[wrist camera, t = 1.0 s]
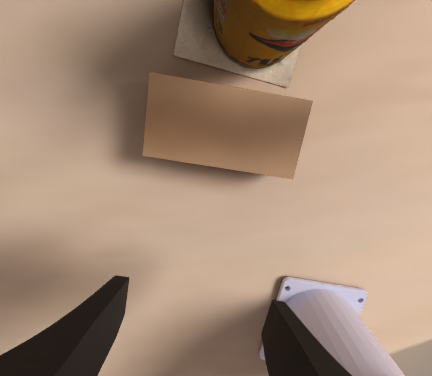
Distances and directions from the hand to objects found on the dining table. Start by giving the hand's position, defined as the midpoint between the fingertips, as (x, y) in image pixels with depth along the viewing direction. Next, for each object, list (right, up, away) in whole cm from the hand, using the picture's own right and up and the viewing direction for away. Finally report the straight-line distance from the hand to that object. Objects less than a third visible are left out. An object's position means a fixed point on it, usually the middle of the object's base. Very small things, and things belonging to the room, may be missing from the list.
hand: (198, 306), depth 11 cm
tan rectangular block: (+1, +10, +7) cm, 13 cm away
